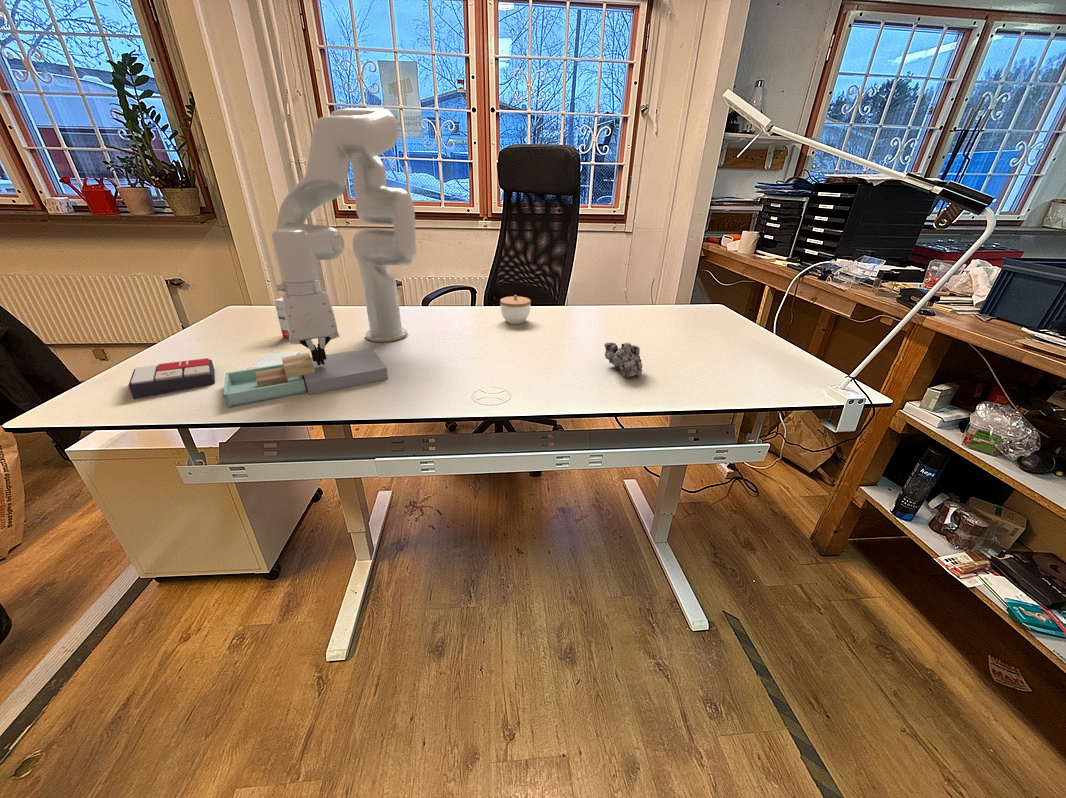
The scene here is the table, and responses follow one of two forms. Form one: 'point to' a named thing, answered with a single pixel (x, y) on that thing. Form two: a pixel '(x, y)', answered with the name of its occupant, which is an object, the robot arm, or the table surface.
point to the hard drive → (272, 359)
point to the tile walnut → (271, 377)
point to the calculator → (171, 377)
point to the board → (346, 371)
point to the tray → (246, 390)
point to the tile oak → (298, 365)
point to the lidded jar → (515, 309)
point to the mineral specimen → (624, 358)
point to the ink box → (281, 317)
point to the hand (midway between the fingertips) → (320, 363)
